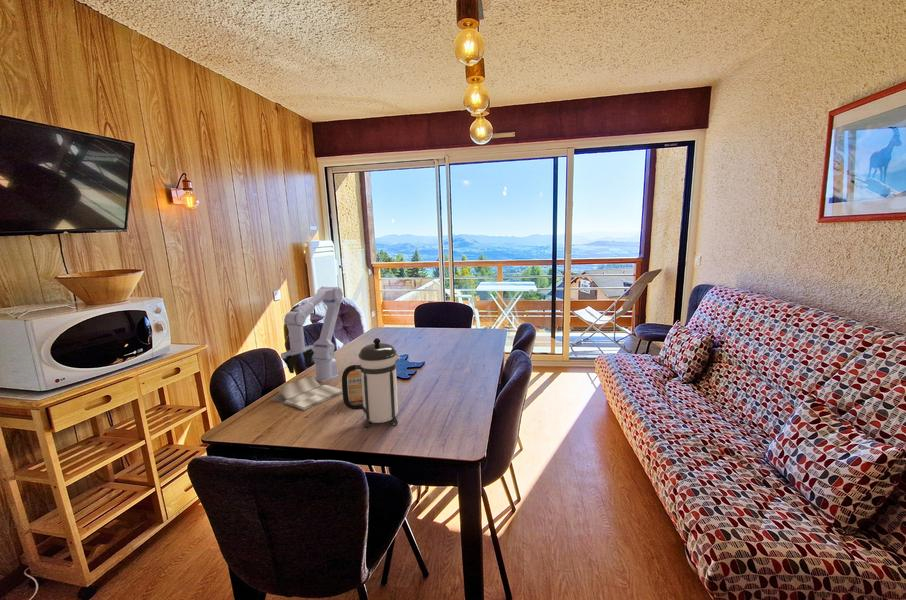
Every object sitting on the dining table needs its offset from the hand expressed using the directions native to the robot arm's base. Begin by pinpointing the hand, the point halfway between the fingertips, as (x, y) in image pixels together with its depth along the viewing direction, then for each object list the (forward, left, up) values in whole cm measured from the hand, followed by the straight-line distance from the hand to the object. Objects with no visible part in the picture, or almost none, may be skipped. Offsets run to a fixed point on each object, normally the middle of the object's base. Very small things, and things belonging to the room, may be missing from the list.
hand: (299, 370), depth 157 cm
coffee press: (+4, +49, -10) cm, 50 cm away
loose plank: (+3, +2, -7) cm, 8 cm away
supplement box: (-6, +29, -10) cm, 31 cm away
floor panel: (+3, +9, -9) cm, 13 cm away
